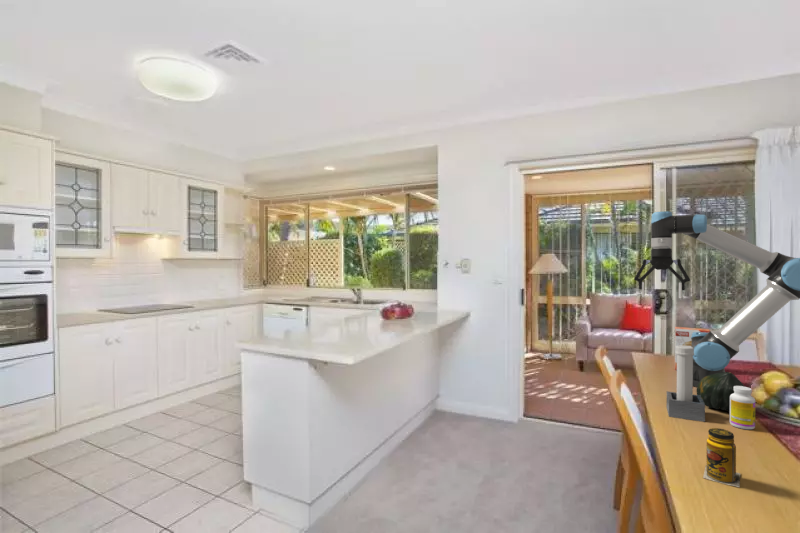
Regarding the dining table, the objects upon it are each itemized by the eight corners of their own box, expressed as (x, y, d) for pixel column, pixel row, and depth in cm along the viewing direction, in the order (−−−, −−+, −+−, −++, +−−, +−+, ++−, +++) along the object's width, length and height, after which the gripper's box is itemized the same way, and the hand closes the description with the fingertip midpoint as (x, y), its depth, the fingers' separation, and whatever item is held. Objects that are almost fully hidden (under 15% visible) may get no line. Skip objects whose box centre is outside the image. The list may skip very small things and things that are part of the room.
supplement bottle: (757, 431, 136) (757, 392, 135) (731, 427, 139) (731, 389, 139) (753, 424, 141) (753, 386, 141) (728, 420, 145) (728, 383, 144)
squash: (690, 384, 168) (700, 362, 158) (735, 389, 163) (748, 367, 153) (697, 417, 158) (708, 396, 148) (746, 423, 153) (761, 402, 143)
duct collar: (700, 411, 153) (700, 395, 153) (704, 421, 144) (704, 404, 144) (666, 407, 158) (666, 391, 158) (668, 416, 149) (668, 399, 149)
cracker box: (674, 370, 207) (675, 328, 207) (674, 367, 212) (674, 326, 212) (710, 374, 200) (710, 330, 199) (708, 371, 205) (709, 328, 205)
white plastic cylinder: (696, 417, 148) (697, 332, 147) (676, 416, 149) (677, 331, 148) (689, 411, 153) (690, 329, 153) (670, 410, 155) (670, 329, 154)
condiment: (702, 478, 108) (703, 432, 108) (705, 465, 115) (706, 422, 114) (739, 488, 103) (739, 440, 103) (740, 474, 110) (740, 428, 110)
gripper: (628, 248, 183) (628, 297, 183) (698, 247, 171) (697, 299, 172) (628, 248, 189) (628, 295, 190) (695, 247, 178) (695, 297, 178)
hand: (661, 297), depth 181 cm, fingers open, 13 cm apart
